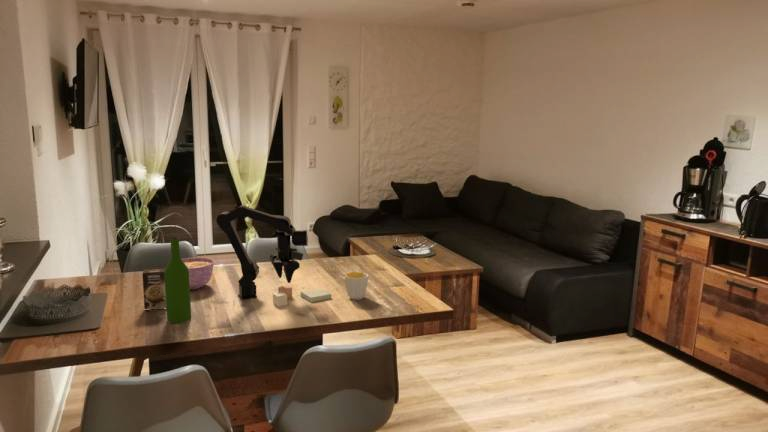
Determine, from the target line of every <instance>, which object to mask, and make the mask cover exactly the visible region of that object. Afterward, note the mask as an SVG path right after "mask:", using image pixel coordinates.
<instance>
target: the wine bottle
mask: <svg viewBox="0 0 768 432" xmlns="http://www.w3.org/2000/svg"><path fill="white" fill-rule="evenodd" d="M180 252H181V251H180V238H178V237H172V238H170V256H171V258H170V260H169V262H168V264H167V265H166V267H165V268H166V269H165V272H164V276H165V293H166V309H165V310H166V320H168V321H169V322H173V323H179V324H182V323H181V322H185V321H188V320H189V321H190V319H191V320H192V310H191V308H192V306H191V290H190V285H189V270H188V267H187V266H186V265H185V263H184V262H183V261H182V260H181V259H182V258H181V253H180ZM168 321H167V322H168ZM189 321H188V322H189ZM169 322H168V323H169ZM173 323H172V324H173ZM185 323H186V322H185Z"/></svg>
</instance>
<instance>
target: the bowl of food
mask: <svg viewBox="0 0 768 432" xmlns="http://www.w3.org/2000/svg"><path fill="white" fill-rule="evenodd" d="M181 260H182V261H183V262H184V263H185V265H186V266H187V267H188V270H189V285H190V289H191V290H198V289H200V287H201V288H202V287H203V286H205V285H207V284H208V283H209V282H210V280H211V279H212V275H213V270H214V264H215V260H214V259H211V258H209V257H187V258H185V257H184V258H181ZM197 288H198V289H197Z"/></svg>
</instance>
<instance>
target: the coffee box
mask: <svg viewBox="0 0 768 432" xmlns="http://www.w3.org/2000/svg"><path fill="white" fill-rule="evenodd" d="M165 269H166V267H165V268H153V269H152V268H147V269H143V270H142V288H143V308H144V309H164V308H166V293H165V276H164V272H165ZM144 309H143V310H144ZM164 310H165V309H164Z"/></svg>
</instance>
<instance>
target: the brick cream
mask: <svg viewBox="0 0 768 432" xmlns="http://www.w3.org/2000/svg"><path fill="white" fill-rule="evenodd" d="M272 298H273V299H272V304H273V305H275V306H276V307H281V306H286V305H288V298H287V294H285V293H284V292H279V293H278V292H274V293H272Z"/></svg>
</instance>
